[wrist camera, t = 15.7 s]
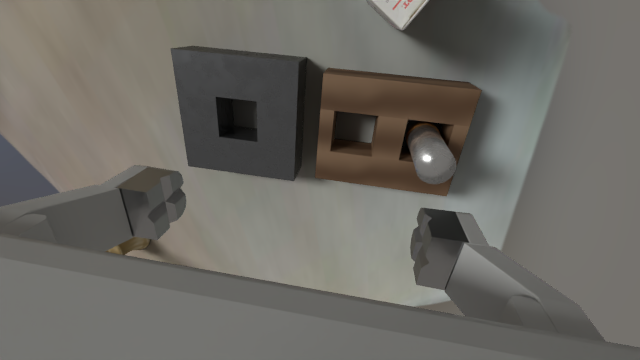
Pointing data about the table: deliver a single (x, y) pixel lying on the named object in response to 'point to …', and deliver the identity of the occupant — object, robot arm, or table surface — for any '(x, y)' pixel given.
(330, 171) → the walnut rack
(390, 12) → the ink cartridge box
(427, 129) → the metal vial
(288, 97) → the socket block
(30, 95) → the table surface
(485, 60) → the table surface
